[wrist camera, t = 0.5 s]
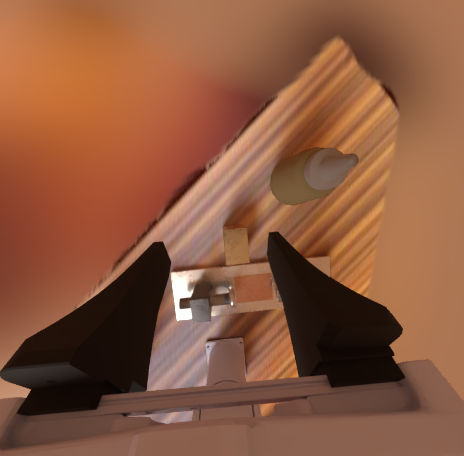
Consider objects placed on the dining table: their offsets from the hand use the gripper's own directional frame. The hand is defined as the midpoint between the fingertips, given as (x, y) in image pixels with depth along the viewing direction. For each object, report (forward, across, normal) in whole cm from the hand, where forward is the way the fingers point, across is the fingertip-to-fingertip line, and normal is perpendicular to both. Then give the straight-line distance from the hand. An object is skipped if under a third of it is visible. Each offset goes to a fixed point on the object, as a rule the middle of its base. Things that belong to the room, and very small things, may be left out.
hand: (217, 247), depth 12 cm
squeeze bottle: (+23, -12, +6) cm, 27 cm away
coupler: (+18, -2, +15) cm, 23 cm away
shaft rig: (+13, -5, +23) cm, 27 cm away
